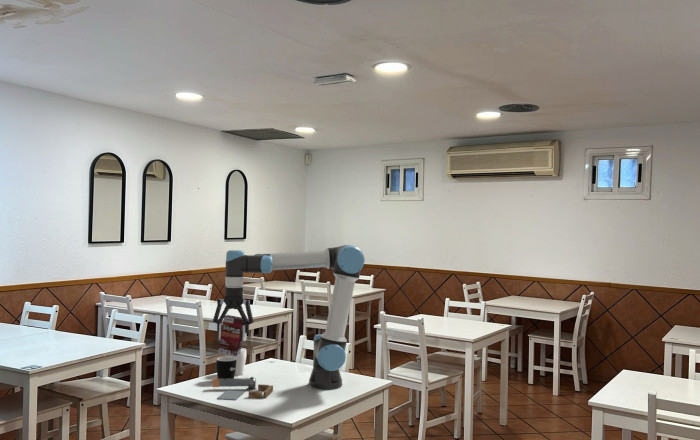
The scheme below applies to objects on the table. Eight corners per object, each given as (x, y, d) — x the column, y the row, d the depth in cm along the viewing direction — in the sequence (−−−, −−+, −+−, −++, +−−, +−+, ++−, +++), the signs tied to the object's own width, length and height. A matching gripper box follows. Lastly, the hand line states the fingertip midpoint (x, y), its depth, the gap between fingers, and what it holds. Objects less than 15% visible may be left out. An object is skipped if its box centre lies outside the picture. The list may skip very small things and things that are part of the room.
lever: (255, 389, 247) (255, 378, 247) (211, 389, 245) (212, 378, 245) (255, 387, 250) (256, 376, 251) (212, 387, 248) (213, 376, 248)
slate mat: (244, 392, 243) (244, 391, 243) (235, 400, 231) (235, 399, 231) (226, 391, 244) (226, 390, 244) (216, 399, 232) (216, 398, 233)
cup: (243, 376, 270) (244, 351, 270) (225, 376, 270) (225, 350, 270) (247, 372, 279) (248, 347, 279) (229, 371, 279) (230, 347, 279)
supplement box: (217, 353, 237) (223, 315, 237) (221, 351, 241) (227, 314, 242) (236, 357, 235) (243, 319, 236) (240, 355, 240) (246, 318, 240)
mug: (229, 384, 256) (230, 361, 256) (212, 382, 258) (212, 360, 259) (242, 378, 267) (242, 356, 268) (225, 376, 270) (225, 354, 270)
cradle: (274, 389, 250) (275, 383, 250) (265, 398, 235) (265, 392, 235) (248, 387, 251) (248, 382, 251) (237, 396, 236) (237, 391, 236)
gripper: (262, 286, 242) (260, 339, 241) (212, 285, 244) (210, 337, 244) (257, 288, 234) (255, 342, 233) (205, 286, 237) (203, 340, 236)
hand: (232, 339), depth 239 cm, fingers closed on supplement box, 10 cm apart
